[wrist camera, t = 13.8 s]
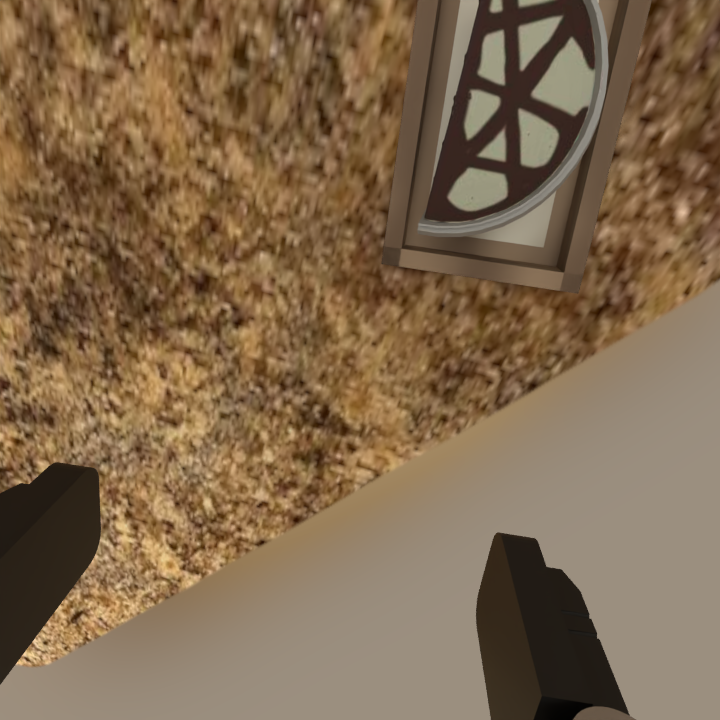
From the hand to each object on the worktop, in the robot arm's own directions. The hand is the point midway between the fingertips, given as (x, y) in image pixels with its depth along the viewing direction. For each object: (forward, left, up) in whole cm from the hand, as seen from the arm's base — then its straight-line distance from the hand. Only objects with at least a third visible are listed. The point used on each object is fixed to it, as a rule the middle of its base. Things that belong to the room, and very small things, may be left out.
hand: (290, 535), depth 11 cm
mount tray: (+4, +11, -26) cm, 29 cm away
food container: (+4, +11, -25) cm, 28 cm away
